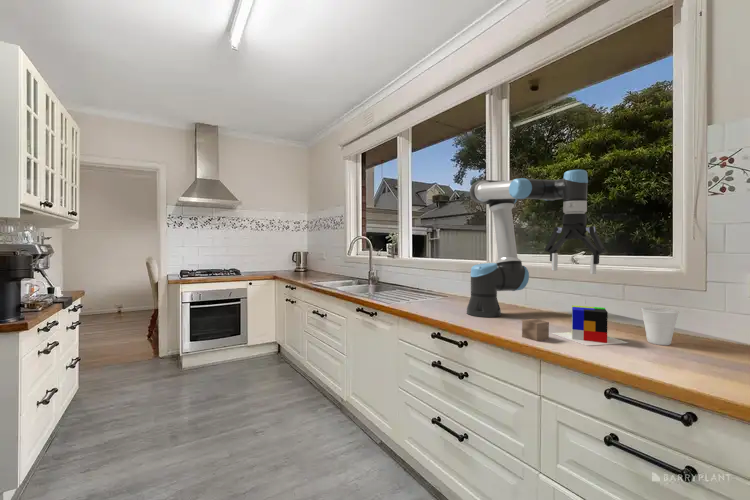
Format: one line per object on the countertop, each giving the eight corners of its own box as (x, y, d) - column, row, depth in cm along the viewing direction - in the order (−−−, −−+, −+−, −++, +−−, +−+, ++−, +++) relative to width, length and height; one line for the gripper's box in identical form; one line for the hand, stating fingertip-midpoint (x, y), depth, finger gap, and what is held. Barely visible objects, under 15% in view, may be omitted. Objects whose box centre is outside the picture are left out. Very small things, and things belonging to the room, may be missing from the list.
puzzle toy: (572, 339, 122) (572, 309, 122) (571, 332, 131) (572, 305, 131) (607, 342, 117) (607, 312, 117) (604, 336, 126) (604, 307, 126)
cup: (669, 349, 112) (669, 313, 111) (633, 341, 120) (634, 308, 120) (684, 345, 116) (685, 311, 116) (649, 337, 125) (650, 306, 125)
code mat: (552, 333, 130) (552, 333, 130) (589, 331, 134) (589, 330, 134) (587, 345, 115) (587, 345, 115) (628, 343, 118) (628, 342, 118)
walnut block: (522, 337, 125) (522, 320, 125) (533, 335, 128) (533, 318, 128) (536, 341, 120) (537, 323, 120) (548, 339, 123) (548, 321, 123)
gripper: (536, 214, 138) (534, 269, 139) (608, 211, 118) (606, 275, 118) (546, 215, 142) (545, 268, 143) (618, 212, 122) (615, 274, 123)
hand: (572, 272), depth 131 cm, fingers open, 13 cm apart
